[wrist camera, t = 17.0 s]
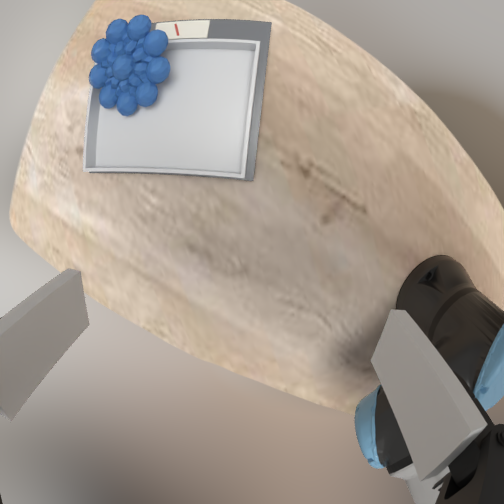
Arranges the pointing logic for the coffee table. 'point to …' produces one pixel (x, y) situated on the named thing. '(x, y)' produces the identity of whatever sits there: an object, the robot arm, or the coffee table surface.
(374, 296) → the coffee table surface
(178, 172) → the scale
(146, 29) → the grapes
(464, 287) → the robot arm
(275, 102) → the coffee table surface
